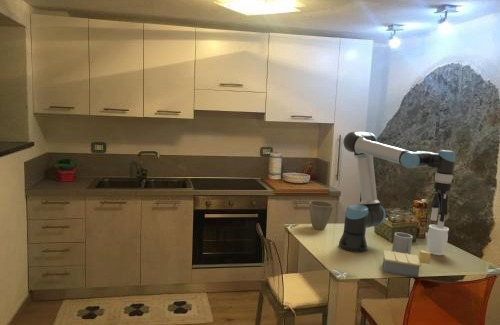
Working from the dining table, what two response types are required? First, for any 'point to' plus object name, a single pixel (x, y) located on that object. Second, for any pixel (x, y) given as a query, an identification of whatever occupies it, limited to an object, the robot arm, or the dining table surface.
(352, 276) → the dining table surface
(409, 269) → the tub
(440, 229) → the jar
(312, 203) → the plant pot
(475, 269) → the dining table surface
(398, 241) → the cup
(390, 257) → the lid
